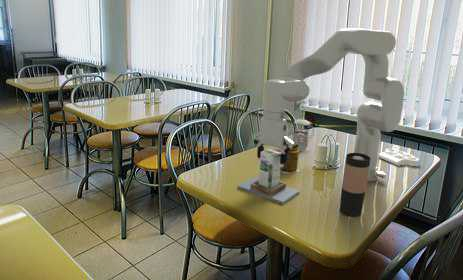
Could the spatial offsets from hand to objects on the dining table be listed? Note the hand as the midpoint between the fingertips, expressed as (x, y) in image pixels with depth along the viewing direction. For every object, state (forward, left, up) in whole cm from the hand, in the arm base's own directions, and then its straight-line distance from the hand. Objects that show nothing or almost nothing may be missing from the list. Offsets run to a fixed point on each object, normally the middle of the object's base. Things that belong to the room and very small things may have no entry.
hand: (271, 160), depth 135 cm
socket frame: (0, +1, -12) cm, 12 cm away
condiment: (+5, -23, -13) cm, 27 cm away
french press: (+15, -54, -13) cm, 58 cm away
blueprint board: (0, +1, -12) cm, 12 cm away
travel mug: (-30, -4, -12) cm, 33 cm away
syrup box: (0, 0, -11) cm, 11 cm away
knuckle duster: (-28, -72, -13) cm, 78 cm away
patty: (+18, -34, -13) cm, 41 cm away
